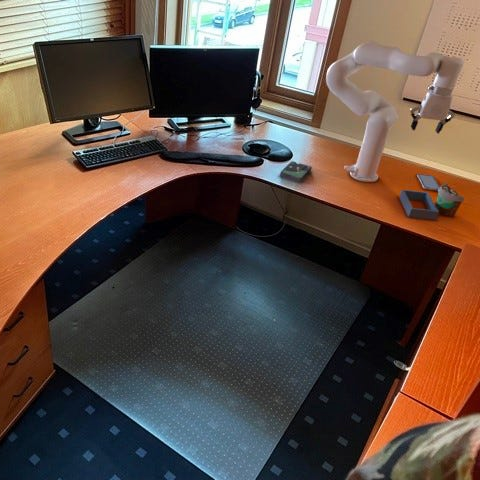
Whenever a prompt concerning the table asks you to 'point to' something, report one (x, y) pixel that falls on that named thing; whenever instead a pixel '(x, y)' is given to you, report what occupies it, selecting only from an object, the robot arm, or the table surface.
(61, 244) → the table surface
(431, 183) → the smartphone
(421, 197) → the rectangular frame
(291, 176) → the disk drive
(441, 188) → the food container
